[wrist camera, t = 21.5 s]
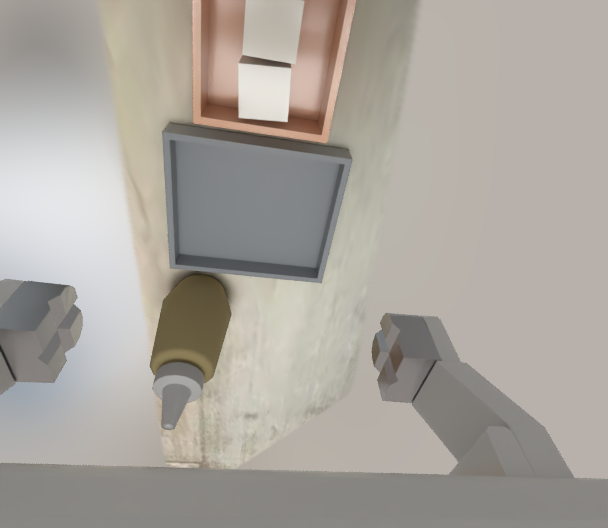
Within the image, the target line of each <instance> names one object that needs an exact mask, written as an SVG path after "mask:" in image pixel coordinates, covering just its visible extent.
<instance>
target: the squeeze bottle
mask: <svg viewBox="0 0 608 528" xmlns="http://www.w3.org/2000/svg"><path fill="white" fill-rule="evenodd" d="M230 318H231V310H230V306H229V302H228V299H227V296H226V293H225V290H224V287H223V286H222V285H221V284H220V282H219V281H217V280H215V279H214V278H212V277H210V276H205V275H191V276H189V277H187V278H185V279H183V280H182V281H181V282H180V283H179V284H178V285H177V286H176V287H175V288H174V289H173V290H172V291H171V292H170V293H169V294H168V295H167V297H166V298H165V299H164V300H163V304H162V309H161V313H160V318H159V323H158V328H157V332H156V337H155V342H154V347H153V351H152V356H151V362H150V368H151V370H152V372H153V374H154V375H155V379H154V383H153V388H152V389H153V391H154V393H155V395H157V396H158V397H159V398H160V399H162V423H161V426H162V428H163V429H166V430H172V429H174V428H175V426H176V424H177V422H178V420H179V418H180V416H181V414H182V412H183V410H184V408H185V405H186V403H189V402H192V401H195V400H196V399H197V398H199V397H200V396H201V393H202V389H203V384H204V383H206V382H207V381H209V380H210V379H211V378H212V377H213V375H214V372H215V369H216V366H217V362H218V359H219V355H220V352H221V348H222V345H223V342H224V338H225V335H226V331H227V328H228V324H229V321H230Z"/></svg>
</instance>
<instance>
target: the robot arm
mask: <svg viewBox="0 0 608 528" xmlns="http://www.w3.org/2000/svg"><path fill="white" fill-rule="evenodd" d="M76 299H77V294H76V291H75V288H74V287H72V286H69V285H61V284H52V283H43V282H33V281H19V280H11V279H4V280H2V281H0V395H1V394H2V393H4V392H5V391H6V390H8V389H9V388H10V387H12V386H13V385H14V384H15V382H42V383H54V382H55V380H56V379H57V377H58V375H59V373H60V371H61V370H62V368H63V366H64V365H65V363H66V361H67V360H66V356H65V352H66V351H68V350H70V349H71V348H73V347H74V346H75V345H76V343H77V341H78V339H79V337H80V334H81V330H82V325H83V322H82V313H81V310H80V309H79V308H77V307H76V306H75V305H74V302H75V301H76ZM380 324H381V328H382V330H380V331H379V332H378V333H376V334H375V337H374V340H373V345H372V359H373V364H374V367H375V368H376V369H377V370H378V371H379V372H380V375H379V377H378V380H377V381H378V384H379V388H380V393H381V397H382V400H383V401H393V402H405V403H412V405H413V407H414V408H415V409H416V410H417V412H418V413H419V414H420V415H421V416H422V418H423V419H424V420H425V421H426V423H427V424H428V425H429V426H430V428H431V429H432V430H433V431H434V432H435V434H436V435H437V436H438V437H439V438H440V440H441V441H442V442H443V443H444V445H445V446H446V447H447V448H448V450H449V451H450V452H451V453H452V455H453V456H454V457H455V458H456V459H457V461H458V462H459V463H458V464H457V465H456V467H455V468H454V469H453V470H452V471H451V472H450V474H449V475H438V474H401V473H363V472H362V473H361V472H326V471H325V472H323V471H289V470H287V471H286V470H251V469H212V468H173V467H133V466H95V465H94V466H93V465H58V464H20V463H0V528H608V479H587V478H574V477H573V475H572V473H571V471H570V469H569V468H568V466H567V464H566V463H565V461H564V460H563V458H562V456H561V454H560V453H559V451H558V449H557V447H556V446H555V444H554V442H553V441H552V439H551V437H550V435H549V434H548V432H547V430H546V429H545V427H544V426H542V425H541V424H540V423H539V422H538V421H536V420H535V419H534V418H533V417H531V416H530V415H529V414H528V413H526V412H525V411H524V410H523V409H522V408H520V407H519V406H518V405H517V404H516V403H514V402H513V401H512V400H511V399H509V398H508V397H507V396H506V395H505V394H503V393H502V392H501V391H500V390H499V389H497V388H496V387H495V386H494V385H493V384H491V383H490V382H489V381H488V380H486V379H485V378H484V377H483V376H481V375H480V374H479V373H478V372H477V371H476V370H474V369H473V368H472V367H471V366H469V365H468V364H467V363H462V362H461V361H460V359H459V357H458V355H457V353H456V351H455V349H454V347H453V345H452V342H451V340H450V338H449V336H448V334H447V332H446V330H445V328H444V326H443V324H442V322H441V320H440V319H439V318H438V317H434V316H418V315H405V314H392V313H386V314H385V315H384V316H383V317H382V320H381V322H380Z"/></svg>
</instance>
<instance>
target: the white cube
mask: <svg viewBox="0 0 608 528" xmlns="http://www.w3.org/2000/svg"><path fill="white" fill-rule="evenodd" d="M303 8H304V0H246V5H245V20H244V36H243V51H242V55H246V56H252V57H257V58H263V59H268V60H274V61H280V62H285V63H291V64H296V58H297V50H298V43H299V36H300V29H301V22H302V15H303Z"/></svg>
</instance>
